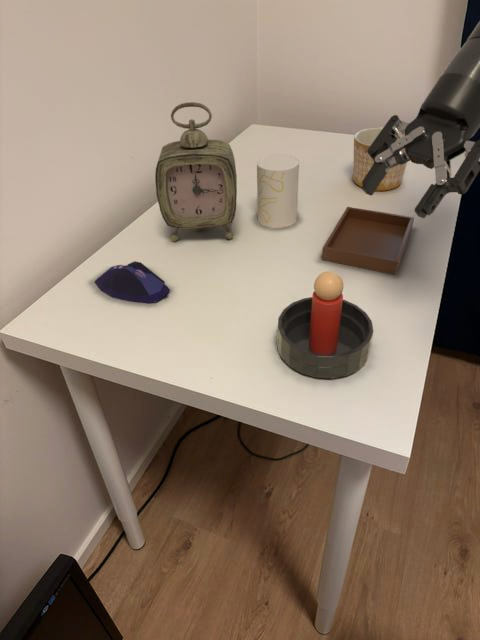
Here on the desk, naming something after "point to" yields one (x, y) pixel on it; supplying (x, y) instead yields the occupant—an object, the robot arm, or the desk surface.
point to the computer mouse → (132, 283)
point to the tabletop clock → (196, 180)
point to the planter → (365, 162)
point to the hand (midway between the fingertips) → (391, 203)
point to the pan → (349, 347)
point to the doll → (326, 313)
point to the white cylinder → (277, 190)
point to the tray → (368, 240)
